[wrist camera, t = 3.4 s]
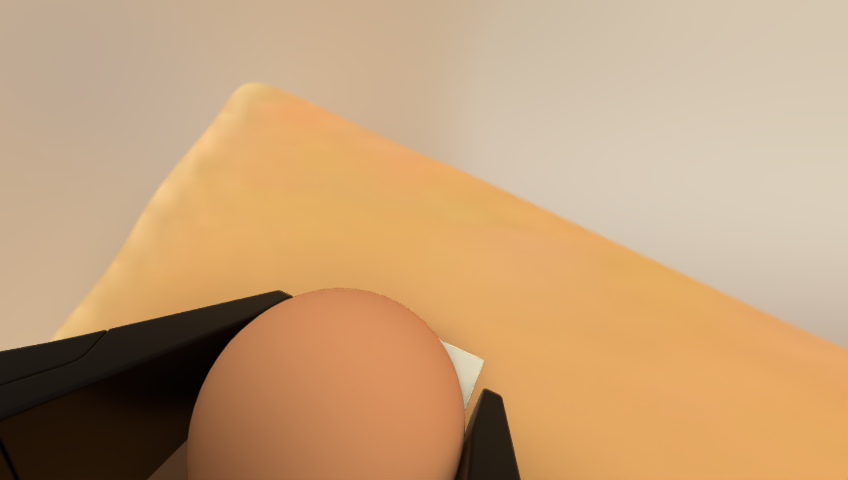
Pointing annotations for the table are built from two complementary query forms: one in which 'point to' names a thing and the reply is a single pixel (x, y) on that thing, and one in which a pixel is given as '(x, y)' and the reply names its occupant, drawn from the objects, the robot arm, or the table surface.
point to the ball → (330, 396)
